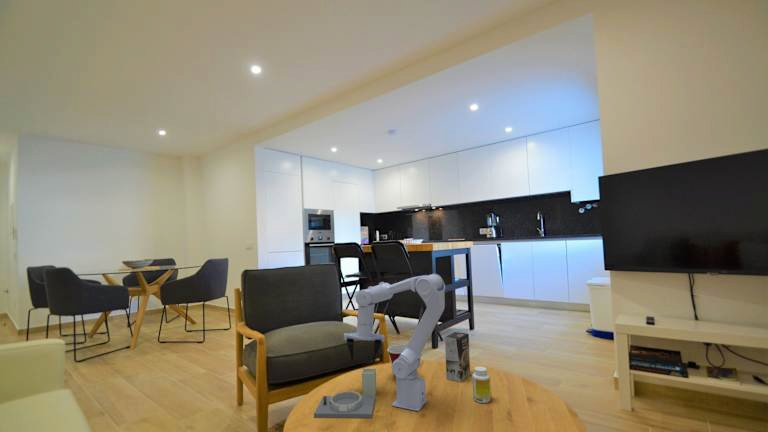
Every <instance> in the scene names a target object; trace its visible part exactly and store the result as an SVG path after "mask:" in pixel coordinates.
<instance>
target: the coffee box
mask: <svg viewBox="0 0 768 432" xmlns="http://www.w3.org/2000/svg"><path fill="white" fill-rule="evenodd" d="M469 335H470V334H469V333H468V332H467V333H466V332H458V331H457V332H456V331H453V332H452V333H450V334H448V335H446V336H445V337H444V342H445V343H444V346H445V371H446V372H445V373H446V374H445V378H446V379H447V380H450V381H454V382H458V383H461V382H463V381H464V380H465V379H467V378H468V377H469V376H470V375H471V360H470V358H471V357H470V338H469ZM466 377H467V378H466Z"/></svg>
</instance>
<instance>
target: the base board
mask: <svg viewBox="0 0 768 432" xmlns="http://www.w3.org/2000/svg"><path fill="white" fill-rule="evenodd" d="M325 396H326V399H327V404H326V405H324V404H323V397H322V399H321V400H320V402H319V403H318V406H317V407H316V409H315V411H314V413H313V418H316V419H317V418H318V419H319V418H320V419H322V418H326V419H329V418H331V419H332V418H333V419H343V418H344V419H372V417H373V413H374V408H375V404H376V400H377V399H376V398H377V397H376V395H375V396H362V395H361V396H362V405H361V407H360V408H358V409H357V410H355V411H351V412H336V411H334V410H332V409H331V407H330V398H331V396H332V395H325ZM356 401H358V400H355V399H352V398H345V399H341V400H338V401H336V402H334V403H337V404H344V405H347V404H351V403H355V402H356Z"/></svg>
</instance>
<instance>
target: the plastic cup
mask: <svg viewBox="0 0 768 432" xmlns="http://www.w3.org/2000/svg"><path fill="white" fill-rule="evenodd" d="M407 345H408V343H402V344H401V343H399V344H395V345H392V346H388V348H387V350H386V351H387V352H388V355H389V358H390V361H391V365H392V364H393V362H394V361H395V360H396V359H398V358H399V356H400V354H401V353H402V352H403V351H404V350H405V348H406V347H407ZM393 376H394V380H396V376H395V375H394V374H393Z"/></svg>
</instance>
